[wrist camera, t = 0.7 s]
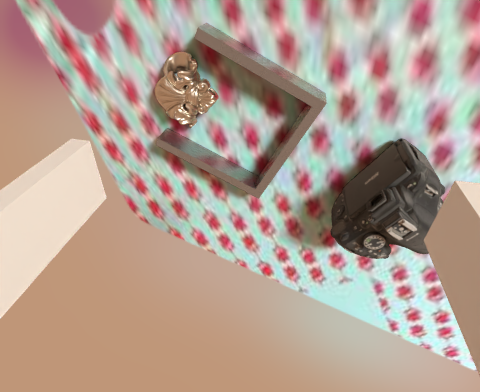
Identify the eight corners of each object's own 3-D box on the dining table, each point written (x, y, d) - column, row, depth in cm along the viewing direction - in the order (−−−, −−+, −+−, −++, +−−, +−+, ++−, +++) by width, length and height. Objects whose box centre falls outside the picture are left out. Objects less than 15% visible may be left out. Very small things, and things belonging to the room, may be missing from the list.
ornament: (219, 126, 37) (211, 139, 35) (165, 117, 38) (153, 130, 35) (223, 56, 33) (214, 64, 30) (160, 47, 33) (146, 54, 30)
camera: (396, 232, 42) (416, 294, 34) (323, 214, 42) (327, 271, 34) (453, 146, 34) (498, 201, 26) (363, 125, 34) (379, 173, 26)
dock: (165, 134, 39) (155, 145, 37) (206, 22, 31) (198, 27, 28) (261, 185, 41) (258, 198, 39) (325, 93, 33) (326, 103, 30)
